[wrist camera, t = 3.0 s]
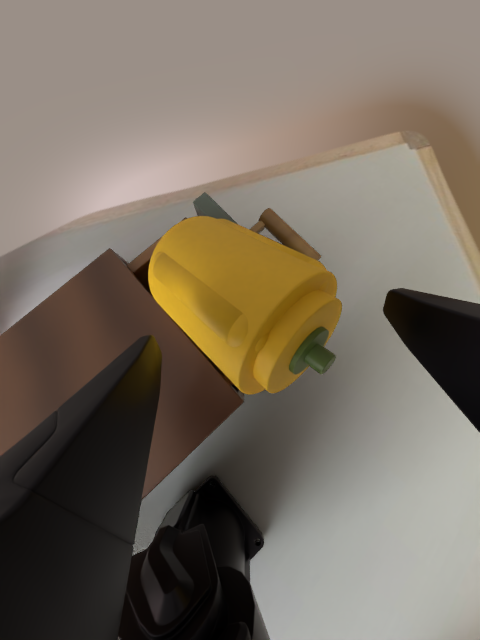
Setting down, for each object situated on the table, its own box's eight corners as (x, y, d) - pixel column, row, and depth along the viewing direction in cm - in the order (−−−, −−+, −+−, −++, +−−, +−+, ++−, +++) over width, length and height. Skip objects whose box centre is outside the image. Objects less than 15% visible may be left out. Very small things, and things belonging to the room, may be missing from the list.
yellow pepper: (210, 313, 19) (314, 403, 13) (124, 308, 13) (240, 461, 7) (246, 231, 16) (390, 298, 11) (160, 184, 11) (365, 271, 5)
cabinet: (156, 285, 22) (109, 247, 15) (244, 385, 20) (244, 401, 13) (21, 398, 21) (-109, 421, 13) (104, 519, 19) (8, 628, 11)
